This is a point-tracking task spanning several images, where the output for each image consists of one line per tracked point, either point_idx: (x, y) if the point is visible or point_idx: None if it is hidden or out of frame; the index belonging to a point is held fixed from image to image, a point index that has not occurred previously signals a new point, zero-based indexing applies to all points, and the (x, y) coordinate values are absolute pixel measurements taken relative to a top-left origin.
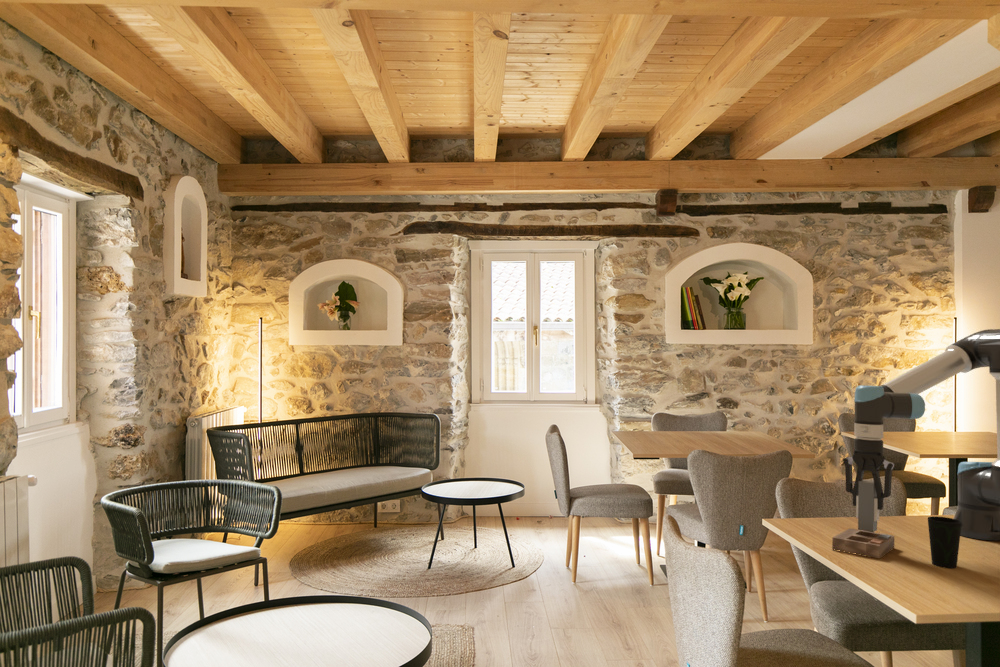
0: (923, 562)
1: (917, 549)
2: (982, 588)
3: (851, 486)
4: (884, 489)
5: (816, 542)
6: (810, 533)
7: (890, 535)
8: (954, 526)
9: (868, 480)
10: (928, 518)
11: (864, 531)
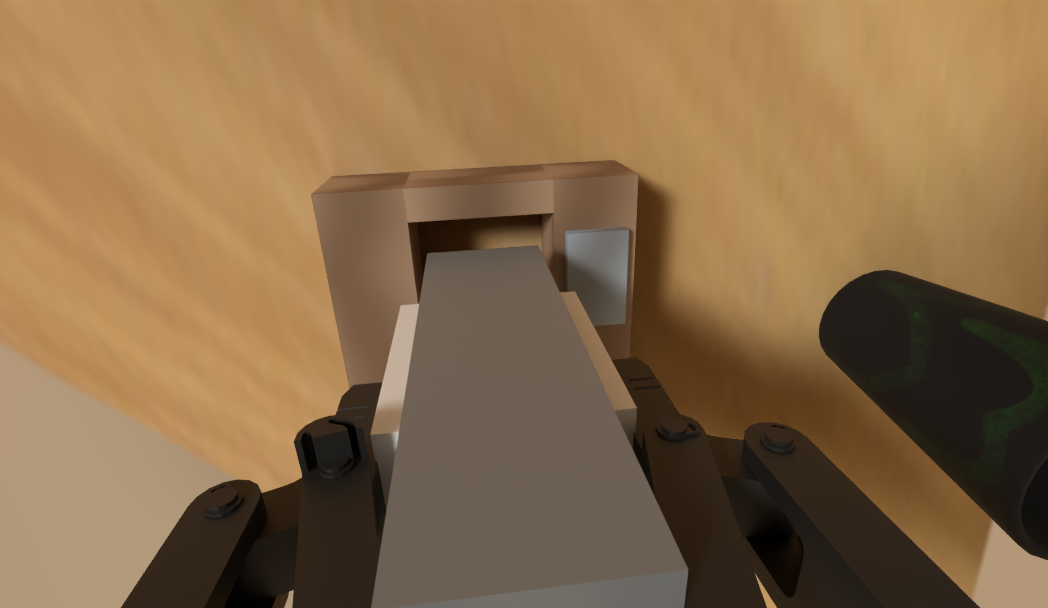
0: (782, 348)
1: (736, 60)
2: (968, 521)
3: (235, 562)
4: (780, 605)
5: (244, 405)
6: (52, 209)
7: (626, 236)
8: None
9: (501, 596)
10: (1014, 523)
11: (435, 213)
